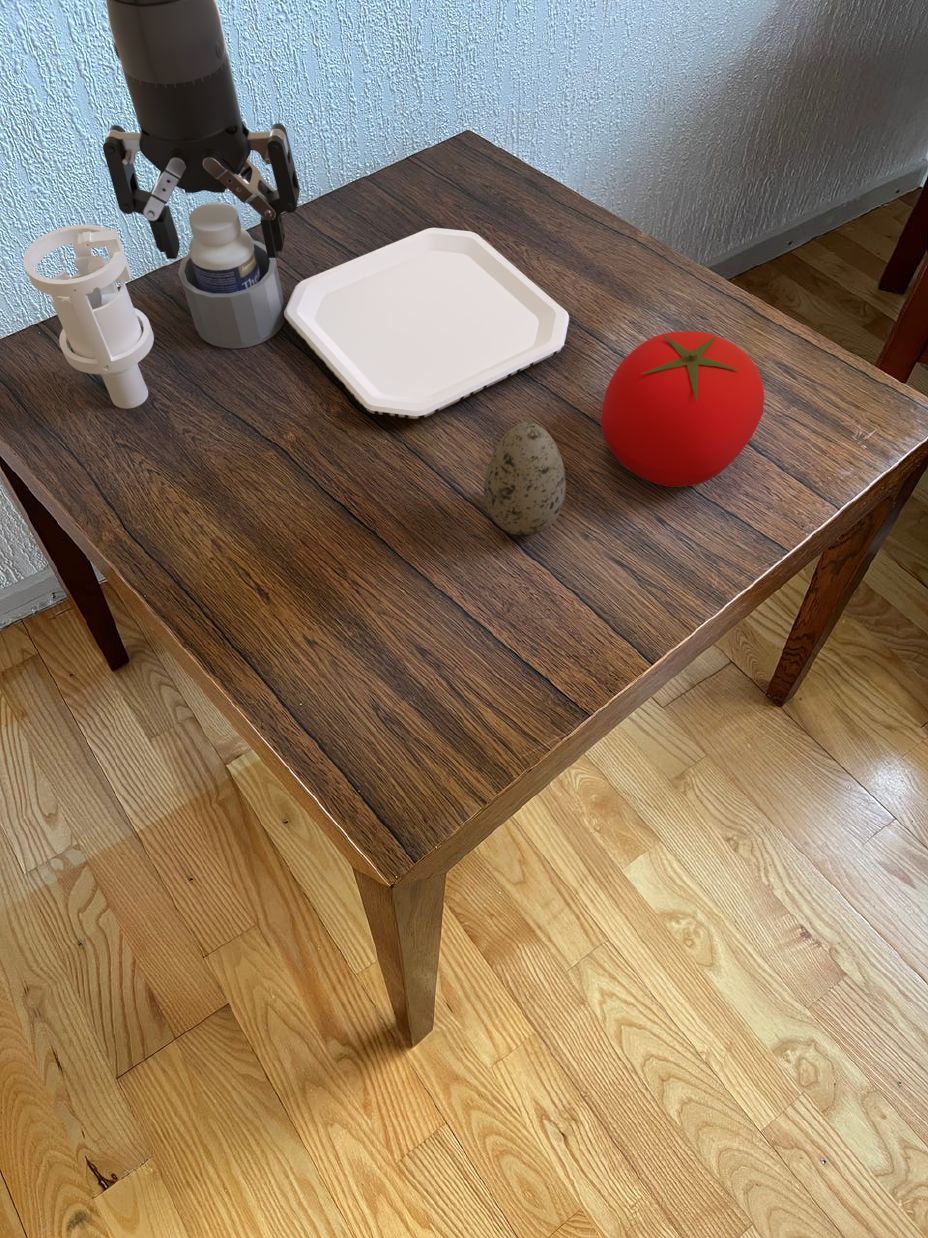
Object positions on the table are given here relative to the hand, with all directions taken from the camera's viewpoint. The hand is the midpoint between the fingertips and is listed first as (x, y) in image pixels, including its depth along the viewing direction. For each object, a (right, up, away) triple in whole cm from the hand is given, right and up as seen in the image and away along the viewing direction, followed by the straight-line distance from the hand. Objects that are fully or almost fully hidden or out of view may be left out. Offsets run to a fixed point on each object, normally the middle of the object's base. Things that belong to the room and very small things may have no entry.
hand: (223, 252), depth 81 cm
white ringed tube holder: (-8, -12, 0) cm, 15 cm away
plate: (+17, -6, +4) cm, 18 cm away
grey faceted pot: (0, -4, +6) cm, 7 cm away
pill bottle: (0, -4, +5) cm, 6 cm away
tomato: (+37, -18, -4) cm, 41 cm away
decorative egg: (+25, -24, -8) cm, 35 cm away
